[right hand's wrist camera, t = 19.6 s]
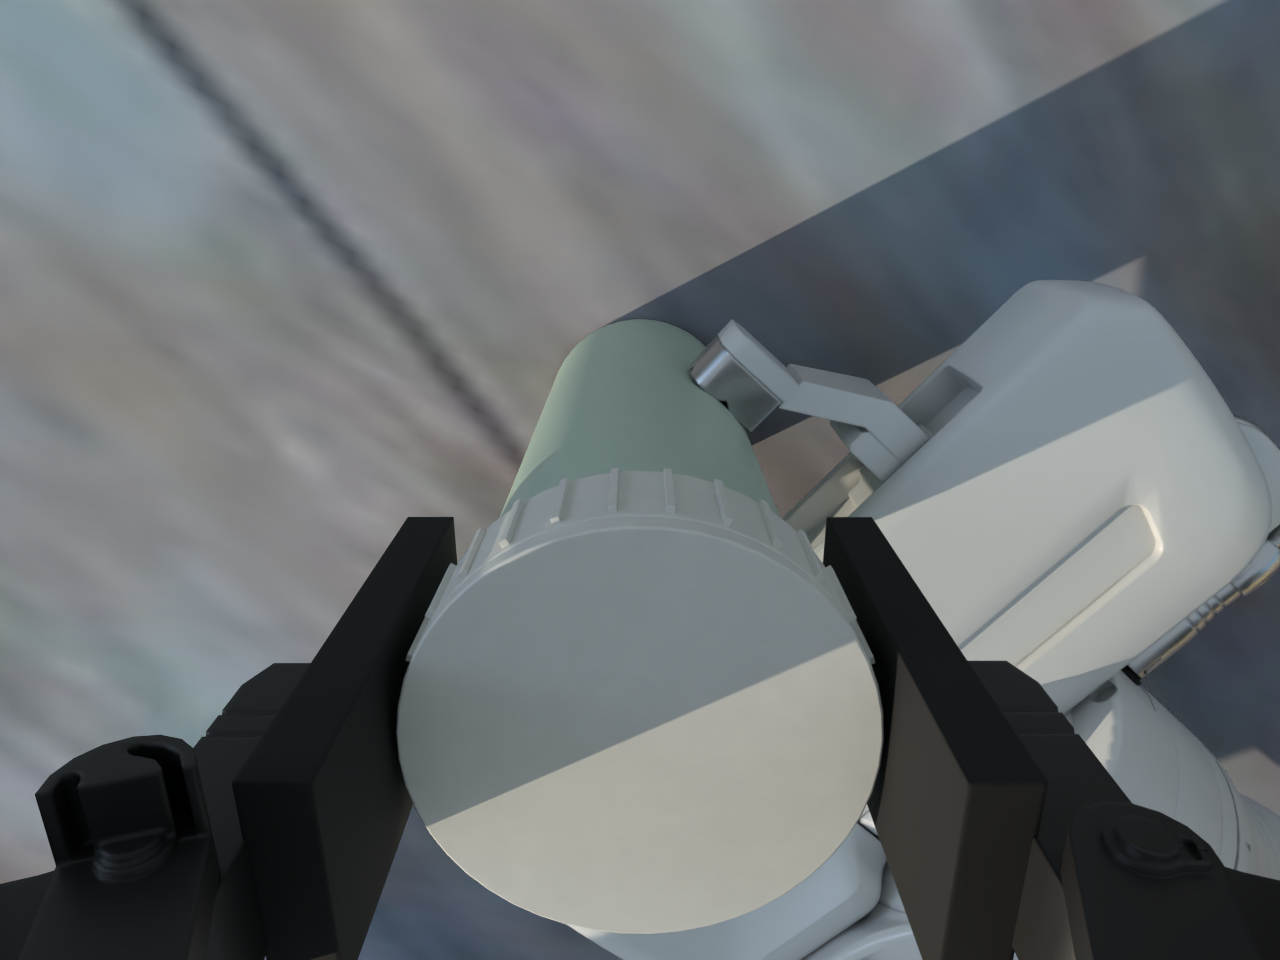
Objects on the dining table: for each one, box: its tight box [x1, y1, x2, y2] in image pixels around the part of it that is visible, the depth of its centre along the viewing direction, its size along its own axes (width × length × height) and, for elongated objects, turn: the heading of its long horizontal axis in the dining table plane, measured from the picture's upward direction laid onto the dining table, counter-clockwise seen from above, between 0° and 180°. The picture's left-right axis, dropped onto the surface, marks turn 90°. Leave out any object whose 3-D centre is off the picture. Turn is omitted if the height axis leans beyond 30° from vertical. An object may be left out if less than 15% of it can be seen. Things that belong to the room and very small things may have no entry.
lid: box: [396, 468, 884, 934], centre depth 11 cm, size 6×6×2 cm
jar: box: [500, 319, 780, 517], centre depth 19 cm, size 5×5×15 cm
